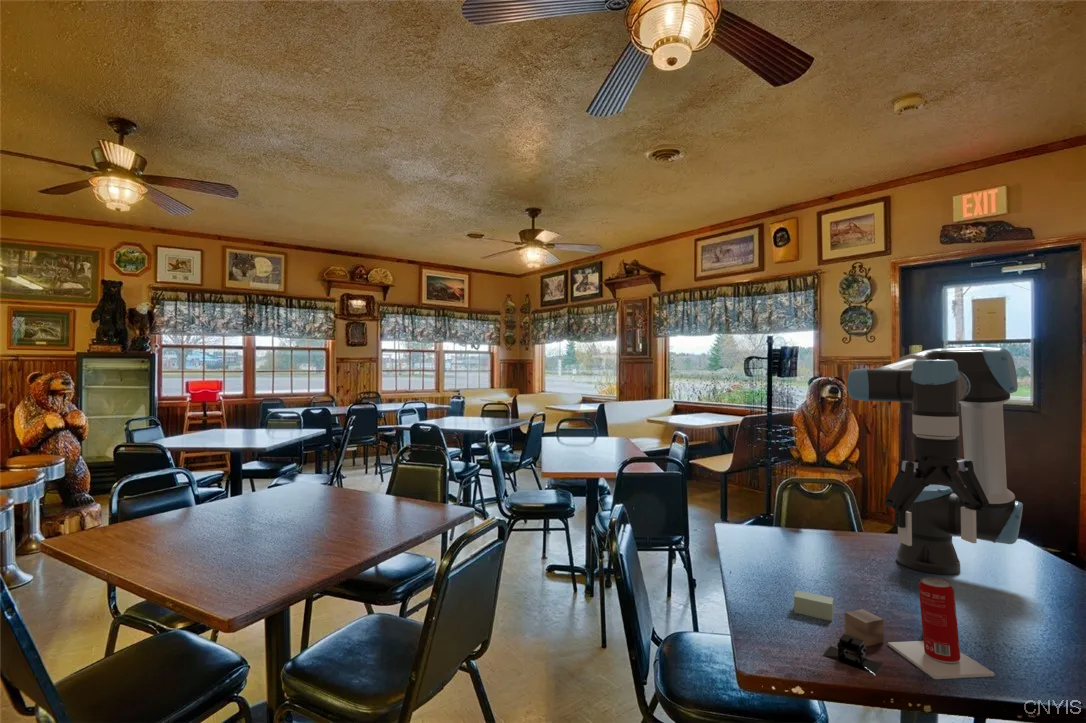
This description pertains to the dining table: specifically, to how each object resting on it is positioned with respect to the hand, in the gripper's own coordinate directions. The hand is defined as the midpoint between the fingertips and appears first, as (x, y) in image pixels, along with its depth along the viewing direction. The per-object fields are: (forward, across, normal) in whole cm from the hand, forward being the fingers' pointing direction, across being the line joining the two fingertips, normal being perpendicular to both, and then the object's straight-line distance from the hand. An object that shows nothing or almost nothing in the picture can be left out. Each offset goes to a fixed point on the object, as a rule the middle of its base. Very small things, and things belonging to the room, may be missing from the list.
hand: (936, 542), depth 105 cm
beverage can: (+23, 0, 0) cm, 23 cm away
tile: (+23, 0, 0) cm, 23 cm away
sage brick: (+24, +13, -21) cm, 34 cm away
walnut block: (+24, +9, -9) cm, 27 cm away
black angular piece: (+24, +17, -1) cm, 30 cm away
